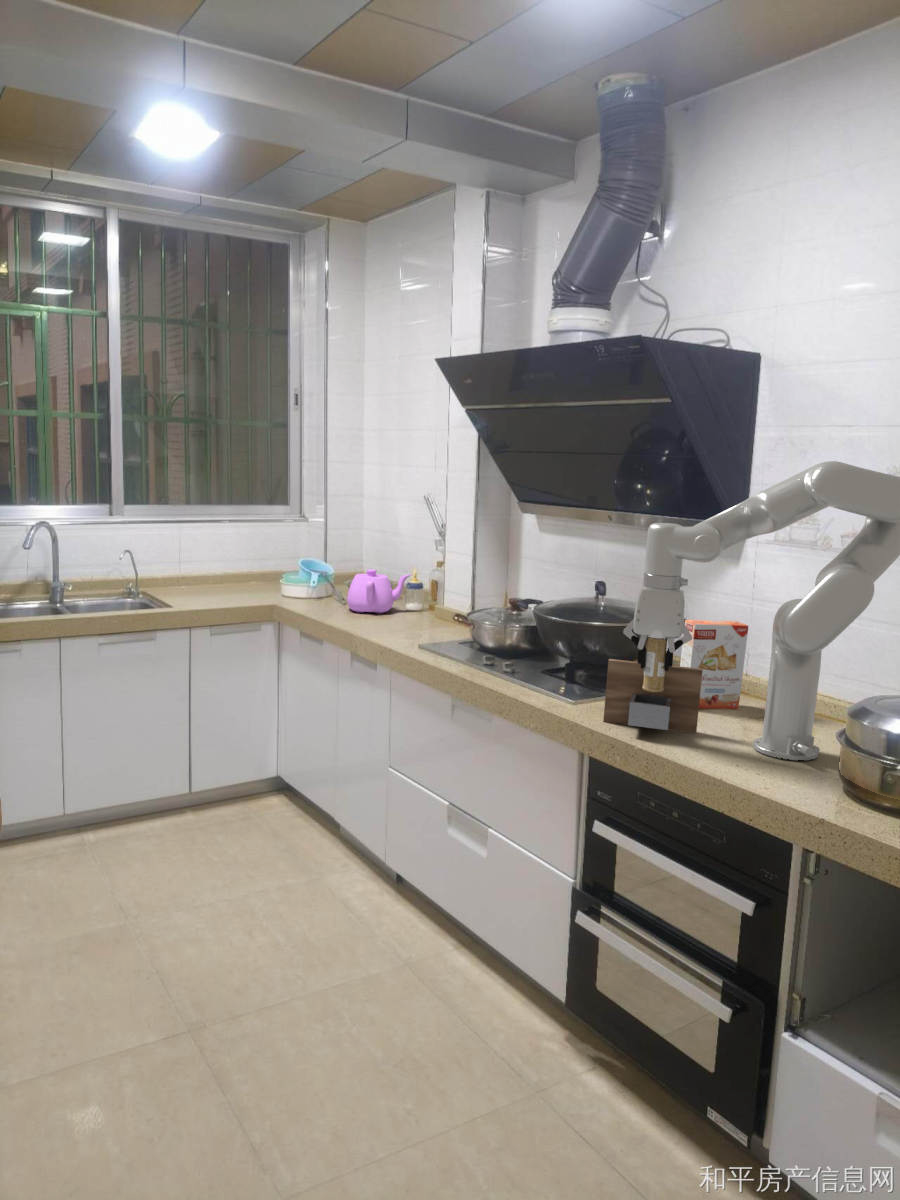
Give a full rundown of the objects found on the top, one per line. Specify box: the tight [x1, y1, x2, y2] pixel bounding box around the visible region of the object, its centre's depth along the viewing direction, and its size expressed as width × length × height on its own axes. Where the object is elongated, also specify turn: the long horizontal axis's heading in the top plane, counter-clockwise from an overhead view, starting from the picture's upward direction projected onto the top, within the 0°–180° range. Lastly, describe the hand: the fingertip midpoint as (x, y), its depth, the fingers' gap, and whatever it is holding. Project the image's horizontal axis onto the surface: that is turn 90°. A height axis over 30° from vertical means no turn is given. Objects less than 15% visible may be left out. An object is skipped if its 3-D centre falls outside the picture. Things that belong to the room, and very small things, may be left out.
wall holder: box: [603, 658, 703, 734], centre depth 195 cm, size 11×20×14 cm, turn 75°
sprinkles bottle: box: [642, 630, 668, 692], centre depth 192 cm, size 5×5×14 cm
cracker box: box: [679, 619, 749, 710], centre depth 219 cm, size 14×6×21 cm, turn 101°
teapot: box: [346, 568, 412, 615], centre depth 327 cm, size 23×21×15 cm
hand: (654, 667), depth 192 cm, fingers closed on sprinkles bottle, 4 cm apart
